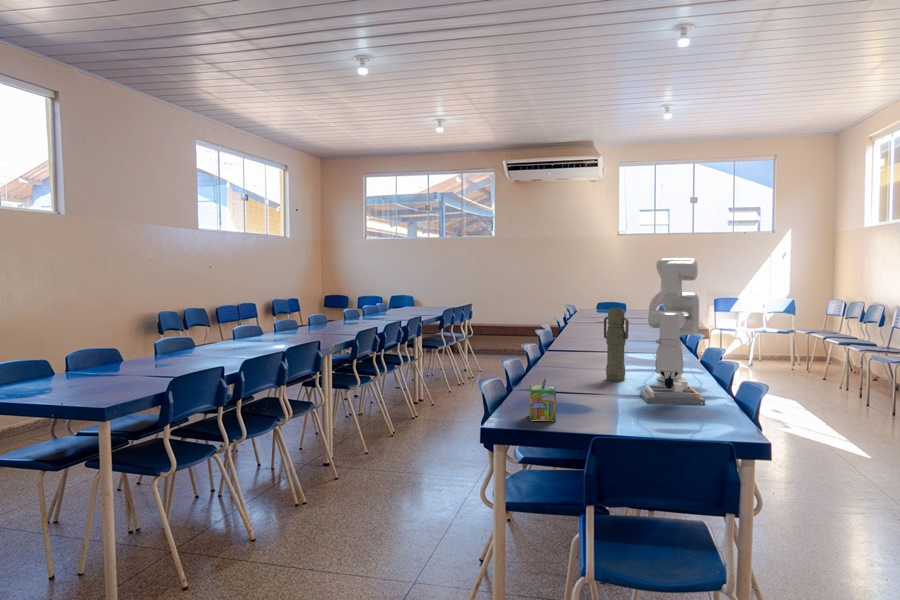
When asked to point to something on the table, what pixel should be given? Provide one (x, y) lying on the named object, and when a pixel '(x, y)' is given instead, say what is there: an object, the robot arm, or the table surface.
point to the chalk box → (542, 402)
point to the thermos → (615, 343)
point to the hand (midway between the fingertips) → (668, 387)
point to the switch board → (671, 395)
